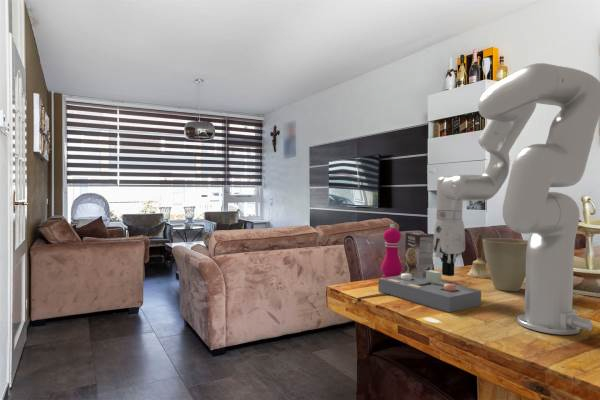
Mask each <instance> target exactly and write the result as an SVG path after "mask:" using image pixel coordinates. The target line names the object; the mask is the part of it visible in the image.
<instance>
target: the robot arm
mask: <svg viewBox="0 0 600 400" xmlns="http://www.w3.org/2000/svg"><path fill="white" fill-rule="evenodd" d="M537 104H540V105H549V106H554V107H555V106H556V107H559V108H560V111H558V113H557V114H556V115H555V116H554V118H553V120H552V121H551V124H550V127H549V131H548V135H547V139H546V142H545V143H535V144H531V145H527V146H526V147H524V148H523V149H522V150H521V151H519V153H518V154H517V155H516V157H515V158H514V160H513V163H512V165H511V169H510V163H511V162H510V161H511V160H510V155H509V154H510V151H511V149H512V148H513V146H514V145H515V142H516V141H517V139H518V138H519V136H520V135H521V133H522V131H523V130H524V128H525V127H526V125H527V124H528V121H529V120H530V119H531V117H532V116H533V113H534V112H535V110H536V107H537ZM477 106H478V107H477V109H478V113H479V115H480V117H482V118H484V119H485V120H488V121H487V123H486V124H485V126H484V128H483V130H482V132H481V134H480V135H479V137H478V141H477V142H478V144H479V146H480V147H481V148H482V149H483V150H484V151H486V152H487V153H489V161H488V164H487V167H486V168H485V170H484V172H483V173H482V174H457V175H453V176H452V175H450V176H449V175H447V176H446V175H445V176H439V177H438V178H437V180H436V213H435V215H436V216H435V217H436V218H435V219H436V220H435V224H434V229H433V230H434V231H433V252H435V257H436V258H440V262H441V263H442V264H441V275H443V276H447V277H453V276H455V263H456V262H457V261H456V260H457V257H458V256H460V255H462V253H464V252H465V251H466V231H465V224H464V220H463V202H464V201H466V202H467V201H469V202H470V201H488V200H490V199H492V198H493V197H494V196H496V195H497V194H498V192H499V191H500V190H501V188H502V186H503V185H504V183H505V182H506V180H507V178H508V176H509V178H508V181H507V186H506V190H505V195H504V199H503V205H502V218H503V222H504V224H505V225H506V227H507V228H508V229H510V230H511V231H512V232H514V233H518V234H524V235H525V234H526V235H529V234H530V235H529V239H528V244H527V249H526V276H525V279H524V281H525V284H524V285H525V286H524V287H525V288H524V313H521V314H519V315H518V316H517V319H516V320H517V321H516V322H517V323H518V324H519V325H520V326H522V327H524V328H525V329H526V328H527V329H529V330H532V331H535V332H539V333H544V334H551V335H565V336H567V335H568V336H569V335H570V336H571V335H576V334H579V333H580V331H581V329H582V330H585V331H592V330H593V322H592V321H591V319H589V318H584V317H580V316H579V315H578V310H576V309H573V296H574V295H573V294H574V262H575V259H574V258H575V245H576V244H575V243H576V238H577V237H576V236H577V232H578V227H579V224H580V218H581V217H580V216H581V215H580V214H581V212H580V207H579V206H578V204H577V202H576V201H575V199H573V198H572V197H570V196H569V195H568V194H565V193H561V192H556V191H549V190H550V188H568V187H572V186H575V185H577V184H578V183H579V182H580V181H581V179H582V178H583V176H584V174H585V171H586V167H587V162H588V160H589V156H590V152H591V148H592V145H593V140H594V137H595V132H596V129H597V126H598V122H599V120H600V81H599V79H598V78H597V77H595V76H593V75H592V74H590V73H588V72H587V71H584V70H580V69H577V68H573V67H568V66H567V67H566V66H561V65H560V66H559V65H556V64H549V63H543V62H542V63H540V62H539V63H533V64H528V65H527V66H524V67H522V68H520V69H519V70H517V71H515V72H514V73H512V74H510V75H508V76H505V77H504V78H503V79H502V78H501V80H499V81H496V83H494V84H492V85H491V86H489V87H488V88H487V89H486V90H485V91H484V92H483V93H482V95H481V96H480V98H479V101H478V105H477Z"/></svg>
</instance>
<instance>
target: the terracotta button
mask: <svg viewBox="0 0 600 400" xmlns="http://www.w3.org/2000/svg"><path fill="white" fill-rule="evenodd" d="M456 285H457V284H455V283H449V282H446V283H445V284H444V291H448V292H456Z"/></svg>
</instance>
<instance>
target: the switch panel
mask: <svg viewBox="0 0 600 400" xmlns="http://www.w3.org/2000/svg"><path fill="white" fill-rule="evenodd" d="M399 275H400V276H393V277H386V278H383V277H380V278H378V290H377V291H378V292H379V293H383V294H387V295H389V294H390V295H389V296H392V295H394V296H393V297H396V296H397V297H396V298H399V297H400V299H402V298H403V300H406V301H410V302H412V303H416V304H419V305H423V306H425V307H430V308H433V309H435V310H439V311H442V312H446V313H453V312H457V311H461V310H466V309H469V308H473V307H477V306H481V304H482V290H479V289H475V288H471V287H466V286H464V285H463V286H462V285H459V284H455V285H456V292H448V291H444V284H445V283H447V282H446V281H441V283H439V284H432V285H431V282H427V281H426V278H424V277H420V276H415V275H412V280H411V281H404V280H401V274H399Z"/></svg>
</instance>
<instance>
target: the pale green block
mask: <svg viewBox="0 0 600 400" xmlns="http://www.w3.org/2000/svg"><path fill="white" fill-rule="evenodd" d="M426 281H427V282H431V285H432V284H439V283H441V282H442V271H436V270H433V269H432V270H428V271H426Z"/></svg>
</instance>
